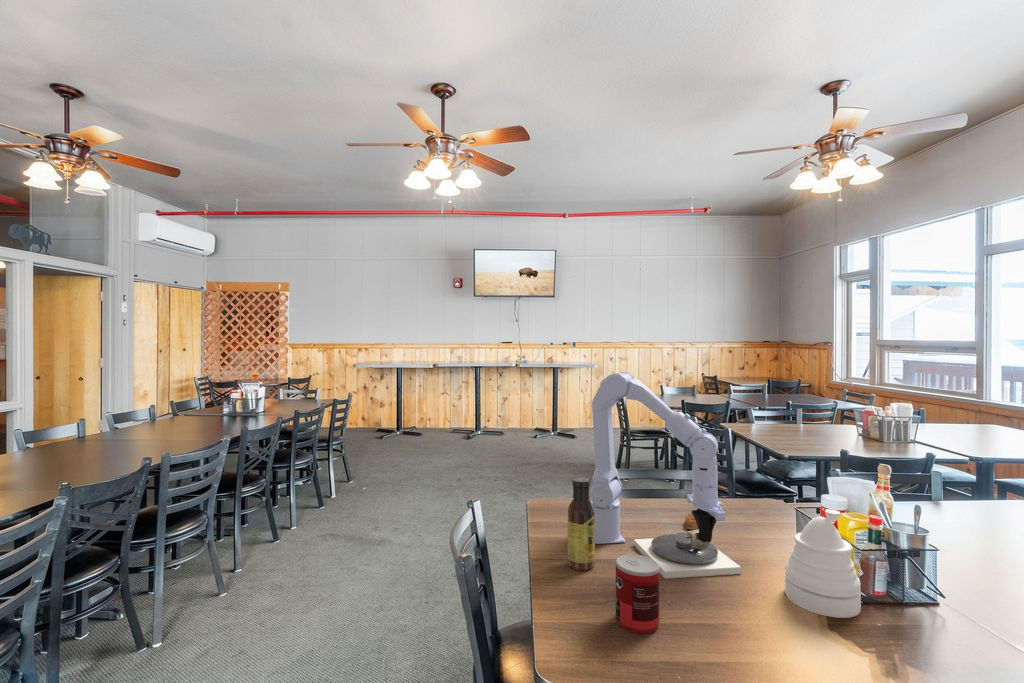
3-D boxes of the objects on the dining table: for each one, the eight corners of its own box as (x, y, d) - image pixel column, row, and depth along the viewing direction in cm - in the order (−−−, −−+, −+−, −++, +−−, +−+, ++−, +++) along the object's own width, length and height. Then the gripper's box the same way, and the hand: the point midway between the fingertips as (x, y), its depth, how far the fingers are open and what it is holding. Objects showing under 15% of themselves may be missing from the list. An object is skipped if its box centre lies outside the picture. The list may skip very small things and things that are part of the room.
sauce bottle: (594, 573, 110) (594, 484, 110) (566, 570, 111) (566, 482, 112) (595, 560, 117) (595, 476, 117) (568, 558, 118) (569, 475, 118)
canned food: (626, 606, 96) (626, 550, 96) (666, 621, 91) (666, 561, 91) (607, 623, 90) (607, 563, 90) (649, 640, 85) (649, 576, 85)
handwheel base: (664, 578, 108) (664, 570, 108) (633, 545, 126) (633, 538, 126) (741, 573, 110) (741, 566, 110) (700, 541, 128) (700, 535, 128)
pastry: (703, 534, 133) (703, 520, 133) (679, 529, 137) (678, 515, 137) (714, 524, 141) (713, 511, 141) (690, 519, 145) (690, 506, 145)
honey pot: (845, 589, 103) (845, 503, 103) (872, 622, 91) (872, 525, 91) (778, 581, 107) (778, 498, 107) (795, 612, 94) (795, 518, 95)
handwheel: (682, 569, 108) (682, 551, 108) (638, 544, 122) (638, 527, 122) (732, 557, 114) (732, 540, 114) (684, 534, 128) (684, 519, 128)
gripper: (737, 492, 112) (738, 552, 112) (705, 476, 126) (705, 529, 126) (708, 493, 111) (709, 554, 111) (679, 477, 126) (679, 530, 125)
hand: (705, 541), depth 119 cm, fingers closed, pressing on handwheel
